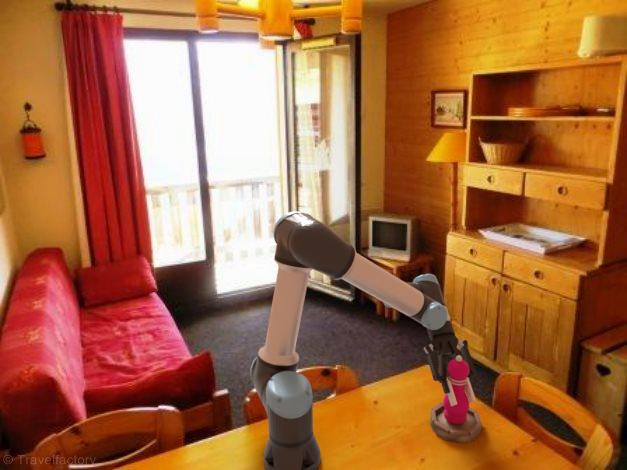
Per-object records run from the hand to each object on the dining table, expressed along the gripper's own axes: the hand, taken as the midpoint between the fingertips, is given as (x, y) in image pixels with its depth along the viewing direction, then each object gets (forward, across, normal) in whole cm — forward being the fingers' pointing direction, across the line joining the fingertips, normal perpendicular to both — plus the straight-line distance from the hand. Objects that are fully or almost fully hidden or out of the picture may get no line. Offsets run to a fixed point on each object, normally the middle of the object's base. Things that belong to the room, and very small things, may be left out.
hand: (463, 403), depth 130 cm
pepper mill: (+3, 0, -8) cm, 8 cm away
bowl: (+5, 0, -10) cm, 11 cm away
